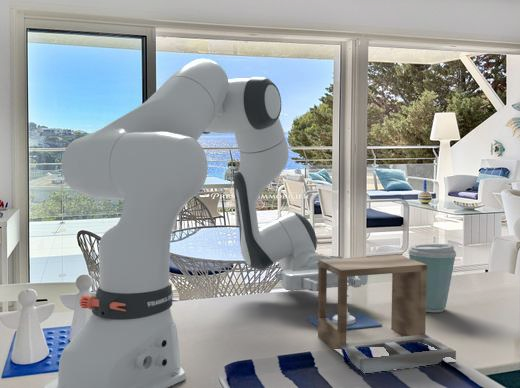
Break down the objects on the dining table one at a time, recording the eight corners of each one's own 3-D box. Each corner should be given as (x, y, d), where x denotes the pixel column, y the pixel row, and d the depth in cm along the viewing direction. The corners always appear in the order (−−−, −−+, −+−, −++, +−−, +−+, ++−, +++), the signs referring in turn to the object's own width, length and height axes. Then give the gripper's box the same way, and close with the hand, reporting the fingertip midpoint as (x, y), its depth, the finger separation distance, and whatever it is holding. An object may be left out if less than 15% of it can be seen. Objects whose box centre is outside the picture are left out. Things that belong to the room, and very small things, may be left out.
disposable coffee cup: (401, 311, 122) (403, 245, 121) (411, 300, 132) (413, 239, 131) (451, 318, 117) (453, 249, 116) (457, 305, 127) (459, 242, 126)
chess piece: (339, 316, 118) (339, 270, 117) (359, 320, 115) (360, 273, 114) (327, 321, 114) (328, 274, 113) (348, 326, 111) (349, 278, 110)
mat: (307, 319, 117) (307, 317, 117) (361, 313, 121) (361, 312, 121) (324, 332, 108) (324, 330, 108) (381, 326, 112) (381, 324, 112)
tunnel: (317, 336, 106) (318, 259, 105) (396, 328, 111) (398, 254, 110) (364, 374, 88) (365, 281, 86) (455, 362, 93) (458, 274, 91)
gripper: (272, 261, 127) (293, 274, 114) (351, 256, 133) (380, 267, 120) (272, 287, 127) (293, 303, 114) (351, 281, 133) (379, 296, 120)
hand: (338, 285), depth 117 cm, fingers open, 8 cm apart
